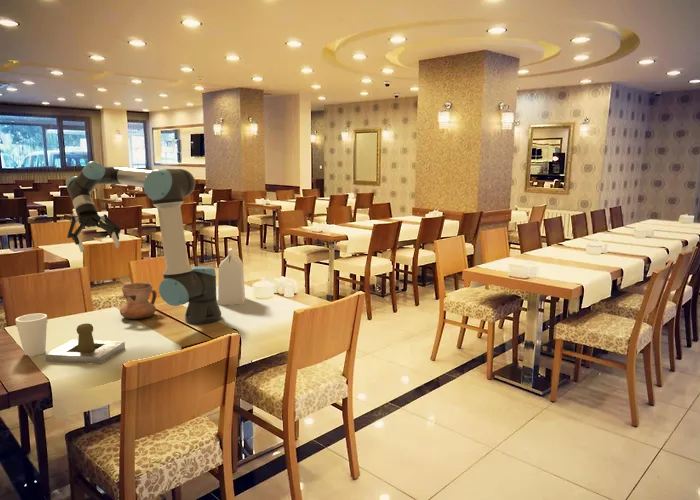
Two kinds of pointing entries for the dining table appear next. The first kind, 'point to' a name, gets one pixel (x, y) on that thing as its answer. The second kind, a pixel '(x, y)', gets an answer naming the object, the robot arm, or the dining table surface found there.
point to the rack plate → (71, 355)
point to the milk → (231, 280)
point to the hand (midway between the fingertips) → (100, 248)
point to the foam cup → (32, 333)
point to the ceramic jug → (138, 300)
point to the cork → (85, 338)
